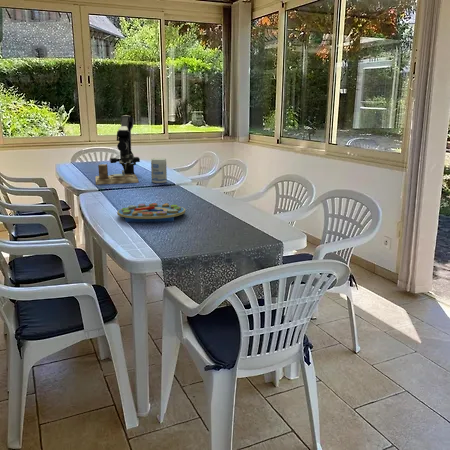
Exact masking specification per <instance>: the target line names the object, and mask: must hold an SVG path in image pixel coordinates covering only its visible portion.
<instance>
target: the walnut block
mask: <svg viewBox="0 0 450 450" xmlns="http://www.w3.org/2000/svg"><path fill="white" fill-rule="evenodd" d="M97 167H98V168H97V169H98V176H99V179H108V176H109V172H108V171H109V170H108V163H107V164H105V163H103V164H102V163H100V164H98V166H97Z"/></svg>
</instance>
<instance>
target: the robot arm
mask: <svg viewBox="0 0 450 450" xmlns="http://www.w3.org/2000/svg"><path fill="white" fill-rule="evenodd" d="M134 124H135V119H134V117H132V116H130V115H127V114H125V115H121V117H120V127H118V129H117V132H116V141H117V142H118V143H117V147H116V149H118V151H119V155H120V156H119V158H117V157H110V158H109V161H110V162H109V163H110V164H116V163H117V162H118V164H119V165H121V166H122V169H123V170H124V174H132V175H135V167H134V166H136V165H137V163H140V157H139V156H134V153H133V152H132V130H133V128H134Z"/></svg>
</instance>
